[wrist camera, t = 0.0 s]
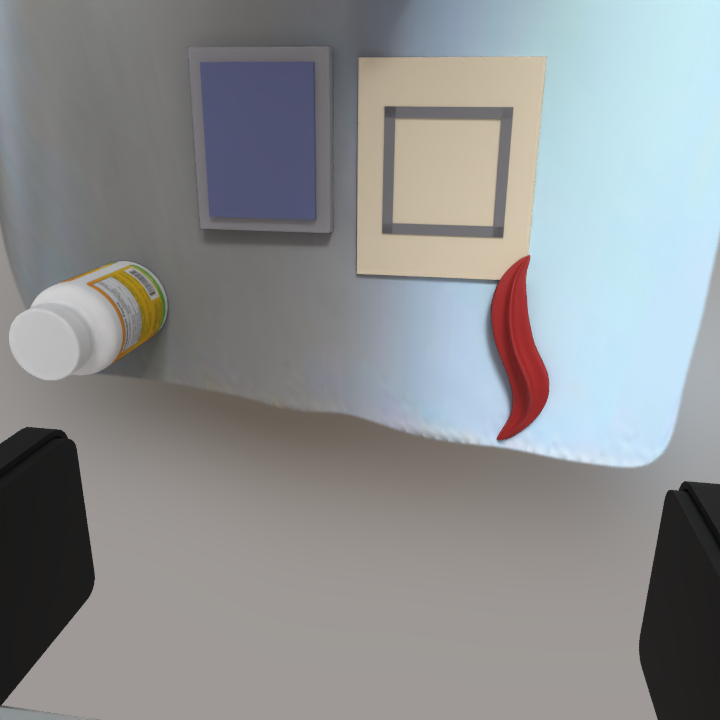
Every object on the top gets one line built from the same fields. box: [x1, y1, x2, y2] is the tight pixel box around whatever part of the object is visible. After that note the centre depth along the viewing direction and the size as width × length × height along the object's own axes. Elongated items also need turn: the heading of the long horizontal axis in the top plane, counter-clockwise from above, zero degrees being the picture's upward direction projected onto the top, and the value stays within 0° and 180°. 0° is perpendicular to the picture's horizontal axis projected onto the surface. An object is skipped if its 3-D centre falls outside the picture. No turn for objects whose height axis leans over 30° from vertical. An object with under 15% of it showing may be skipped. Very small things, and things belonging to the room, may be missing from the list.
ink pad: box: [188, 46, 333, 233], centre depth 39 cm, size 10×8×1 cm
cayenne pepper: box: [491, 255, 549, 440], centre depth 40 cm, size 12×5×2 cm, turn 171°
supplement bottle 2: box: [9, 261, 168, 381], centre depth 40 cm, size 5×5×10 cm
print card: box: [357, 57, 547, 280], centre depth 38 cm, size 12×10×1 cm
